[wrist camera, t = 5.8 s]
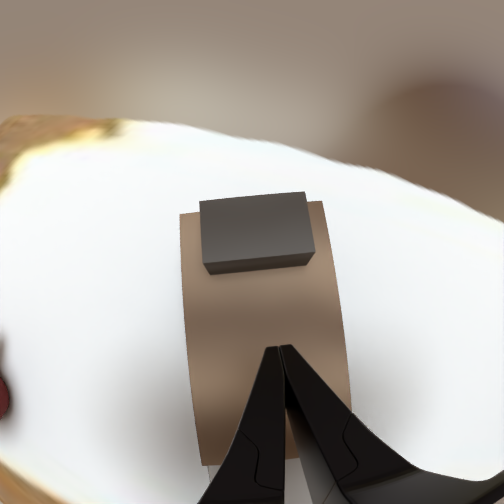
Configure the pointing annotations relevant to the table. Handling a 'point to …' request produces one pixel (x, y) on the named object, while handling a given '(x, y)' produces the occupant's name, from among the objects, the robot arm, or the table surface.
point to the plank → (256, 305)
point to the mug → (3, 398)
